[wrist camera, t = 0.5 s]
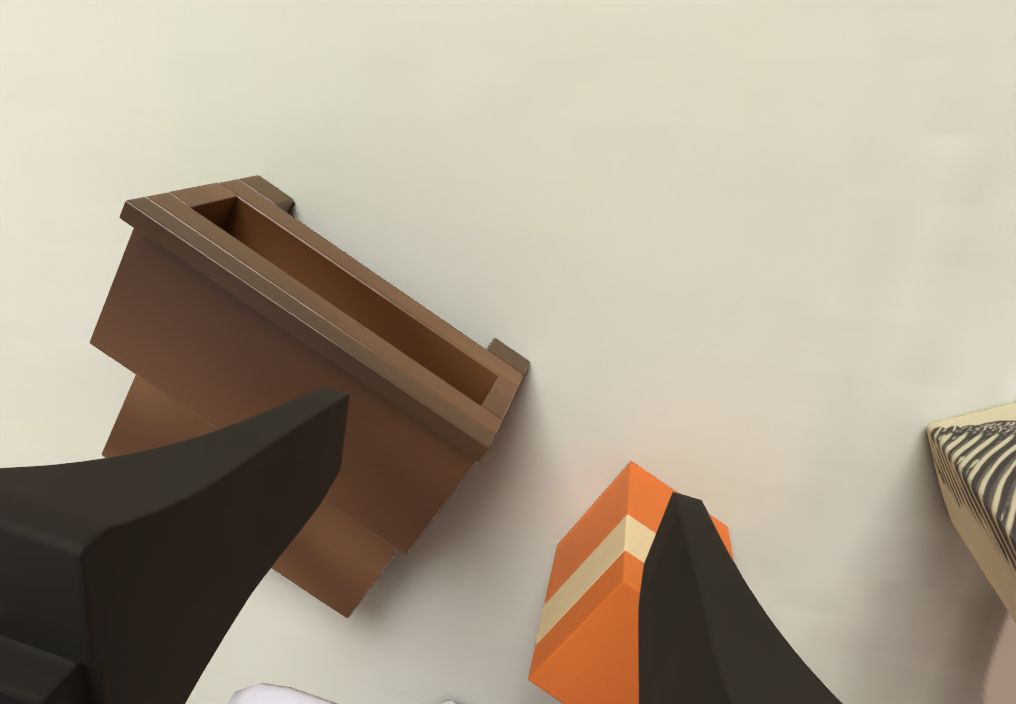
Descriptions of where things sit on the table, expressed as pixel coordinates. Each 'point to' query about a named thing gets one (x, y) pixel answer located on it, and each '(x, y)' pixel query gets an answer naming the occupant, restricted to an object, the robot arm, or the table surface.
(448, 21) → the table surface
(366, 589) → the wooden desk organizer
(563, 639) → the packet
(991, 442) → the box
